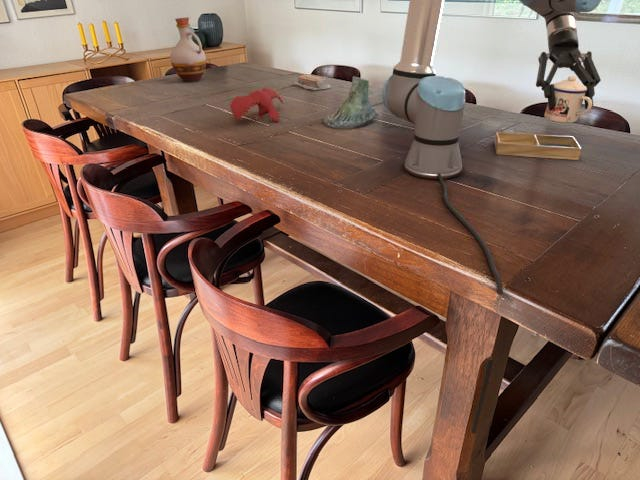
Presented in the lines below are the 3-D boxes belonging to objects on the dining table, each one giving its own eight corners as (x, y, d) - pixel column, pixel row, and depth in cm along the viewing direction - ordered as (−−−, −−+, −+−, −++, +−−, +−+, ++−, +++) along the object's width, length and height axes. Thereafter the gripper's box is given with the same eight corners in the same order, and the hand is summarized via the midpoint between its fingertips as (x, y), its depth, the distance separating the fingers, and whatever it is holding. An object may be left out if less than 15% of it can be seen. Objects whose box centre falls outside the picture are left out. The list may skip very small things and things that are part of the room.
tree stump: (314, 119, 171) (323, 69, 164) (360, 126, 179) (371, 79, 172) (333, 130, 155) (344, 75, 149) (382, 136, 163) (395, 85, 157)
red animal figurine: (289, 122, 182) (266, 91, 181) (302, 108, 175) (279, 76, 174) (244, 142, 161) (218, 107, 160) (258, 127, 155) (231, 91, 154)
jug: (218, 79, 239) (210, 16, 224) (193, 85, 226) (183, 19, 211) (192, 76, 249) (182, 15, 233) (166, 82, 236) (155, 18, 220)
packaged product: (330, 77, 213) (313, 80, 208) (331, 88, 215) (313, 91, 211) (310, 72, 226) (293, 74, 221) (310, 82, 228) (293, 85, 224)
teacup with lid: (536, 117, 131) (547, 75, 125) (555, 112, 135) (566, 72, 129) (575, 128, 122) (589, 83, 116) (594, 123, 127) (608, 79, 120)
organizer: (578, 160, 128) (581, 148, 126) (496, 154, 133) (498, 143, 132) (570, 147, 137) (573, 136, 136) (494, 142, 143) (496, 131, 141)
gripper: (594, 45, 133) (604, 114, 127) (518, 46, 134) (524, 114, 128) (609, 27, 125) (620, 99, 120) (528, 29, 127) (535, 100, 121)
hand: (570, 107), depth 124 cm, fingers closed on teacup with lid, 9 cm apart
